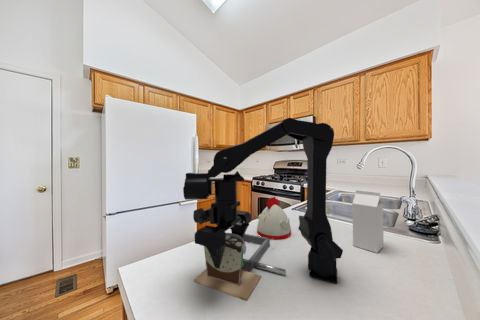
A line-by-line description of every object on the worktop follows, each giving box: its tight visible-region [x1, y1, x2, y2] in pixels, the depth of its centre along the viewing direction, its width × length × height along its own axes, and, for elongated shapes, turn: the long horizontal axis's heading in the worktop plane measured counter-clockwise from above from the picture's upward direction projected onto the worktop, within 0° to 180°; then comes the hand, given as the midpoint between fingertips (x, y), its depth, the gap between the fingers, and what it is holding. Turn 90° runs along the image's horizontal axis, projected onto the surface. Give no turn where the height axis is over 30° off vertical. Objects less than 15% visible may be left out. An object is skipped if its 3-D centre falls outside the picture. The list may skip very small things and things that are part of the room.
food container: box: [203, 232, 247, 286], centre depth 50 cm, size 12×6×10 cm, turn 65°
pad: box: [193, 269, 262, 302], centre depth 48 cm, size 15×9×1 cm, turn 63°
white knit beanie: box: [256, 196, 292, 241], centre depth 77 cm, size 14×14×15 cm
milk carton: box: [352, 189, 385, 254], centre depth 64 cm, size 7×7×19 cm
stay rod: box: [253, 261, 287, 276], centre depth 52 cm, size 10×1×1 cm, turn 63°
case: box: [242, 233, 271, 272], centre depth 61 cm, size 12×17×2 cm
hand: (227, 258), depth 48 cm, fingers open, 9 cm apart
